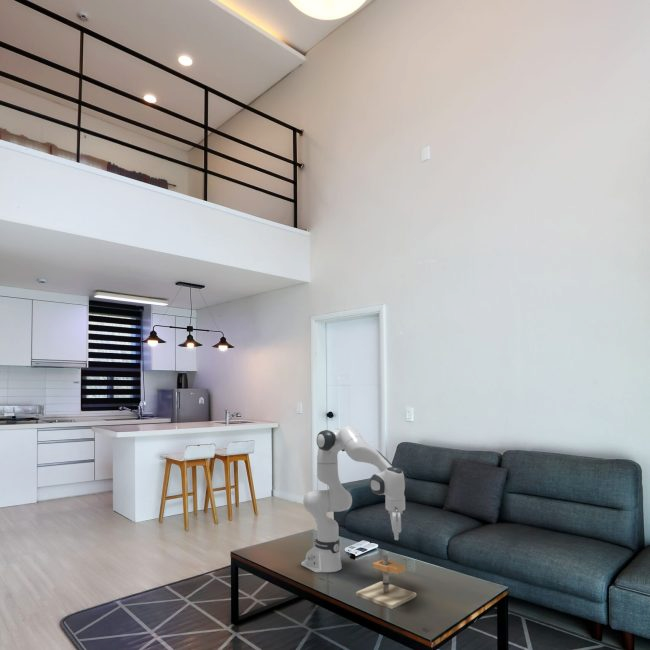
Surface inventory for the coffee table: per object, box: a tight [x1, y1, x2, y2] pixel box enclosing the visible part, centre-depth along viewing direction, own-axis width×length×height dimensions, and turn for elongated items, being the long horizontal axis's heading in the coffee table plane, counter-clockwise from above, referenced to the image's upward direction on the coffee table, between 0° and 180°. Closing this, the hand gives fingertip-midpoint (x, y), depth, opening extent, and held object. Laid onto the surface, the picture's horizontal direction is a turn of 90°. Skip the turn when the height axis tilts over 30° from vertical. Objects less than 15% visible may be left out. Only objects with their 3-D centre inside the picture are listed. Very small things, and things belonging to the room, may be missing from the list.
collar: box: [372, 558, 406, 575], centre depth 223 cm, size 12×8×2 cm, turn 45°
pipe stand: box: [355, 554, 417, 610], centre depth 224 cm, size 20×18×17 cm
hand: (396, 537), depth 222 cm, fingers open, 5 cm apart
